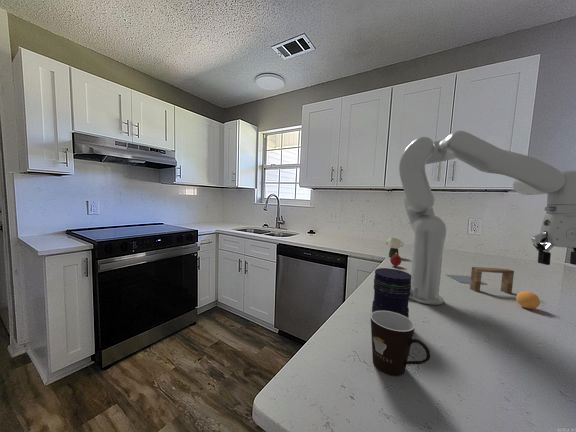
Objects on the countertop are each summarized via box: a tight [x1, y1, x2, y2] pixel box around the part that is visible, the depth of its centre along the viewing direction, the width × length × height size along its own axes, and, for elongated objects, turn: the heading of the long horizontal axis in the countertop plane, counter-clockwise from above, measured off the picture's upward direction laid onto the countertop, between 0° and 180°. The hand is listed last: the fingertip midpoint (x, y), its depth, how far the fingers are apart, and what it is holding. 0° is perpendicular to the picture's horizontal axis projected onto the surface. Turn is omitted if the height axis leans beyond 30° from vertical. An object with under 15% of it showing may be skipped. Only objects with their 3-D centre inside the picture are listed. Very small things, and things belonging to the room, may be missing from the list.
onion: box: [389, 253, 402, 268], centre depth 132 cm, size 6×6×8 cm
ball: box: [515, 290, 541, 310], centre depth 84 cm, size 6×6×6 cm
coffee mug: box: [370, 311, 431, 377], centre depth 48 cm, size 12×9×10 cm
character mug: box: [385, 237, 404, 258], centre depth 157 cm, size 11×7×13 cm, turn 50°
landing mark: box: [446, 274, 487, 285], centre depth 115 cm, size 12×12×1 cm
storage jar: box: [371, 267, 411, 319], centre depth 68 cm, size 10×10×15 cm
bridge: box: [469, 266, 515, 294], centre depth 99 cm, size 3×15×10 cm, turn 87°
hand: (560, 264), depth 74 cm, fingers open, 9 cm apart
